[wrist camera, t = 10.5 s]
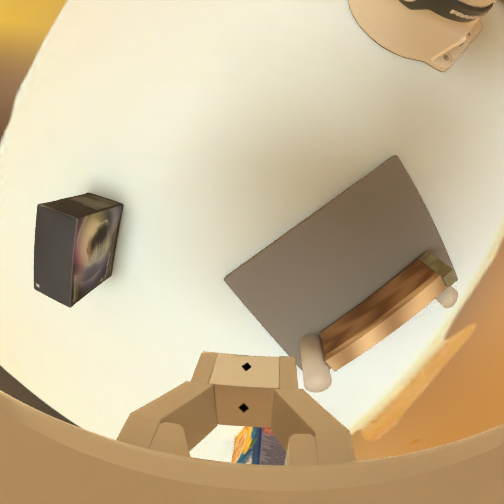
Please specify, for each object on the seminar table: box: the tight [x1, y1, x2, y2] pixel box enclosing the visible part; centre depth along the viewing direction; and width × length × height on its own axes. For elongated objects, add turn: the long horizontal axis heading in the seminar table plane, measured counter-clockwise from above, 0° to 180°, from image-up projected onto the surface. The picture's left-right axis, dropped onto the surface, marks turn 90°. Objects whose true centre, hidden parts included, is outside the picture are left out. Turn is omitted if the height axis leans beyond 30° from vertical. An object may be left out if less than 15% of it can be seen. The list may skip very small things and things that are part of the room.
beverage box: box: [231, 426, 287, 465], centre depth 33 cm, size 7×11×22 cm, turn 155°
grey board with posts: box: [224, 155, 458, 392], centre depth 30 cm, size 25×19×9 cm
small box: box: [34, 193, 123, 308], centre depth 31 cm, size 11×6×10 cm, turn 162°
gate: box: [320, 251, 457, 371], centre depth 31 cm, size 17×2×7 cm, turn 130°
